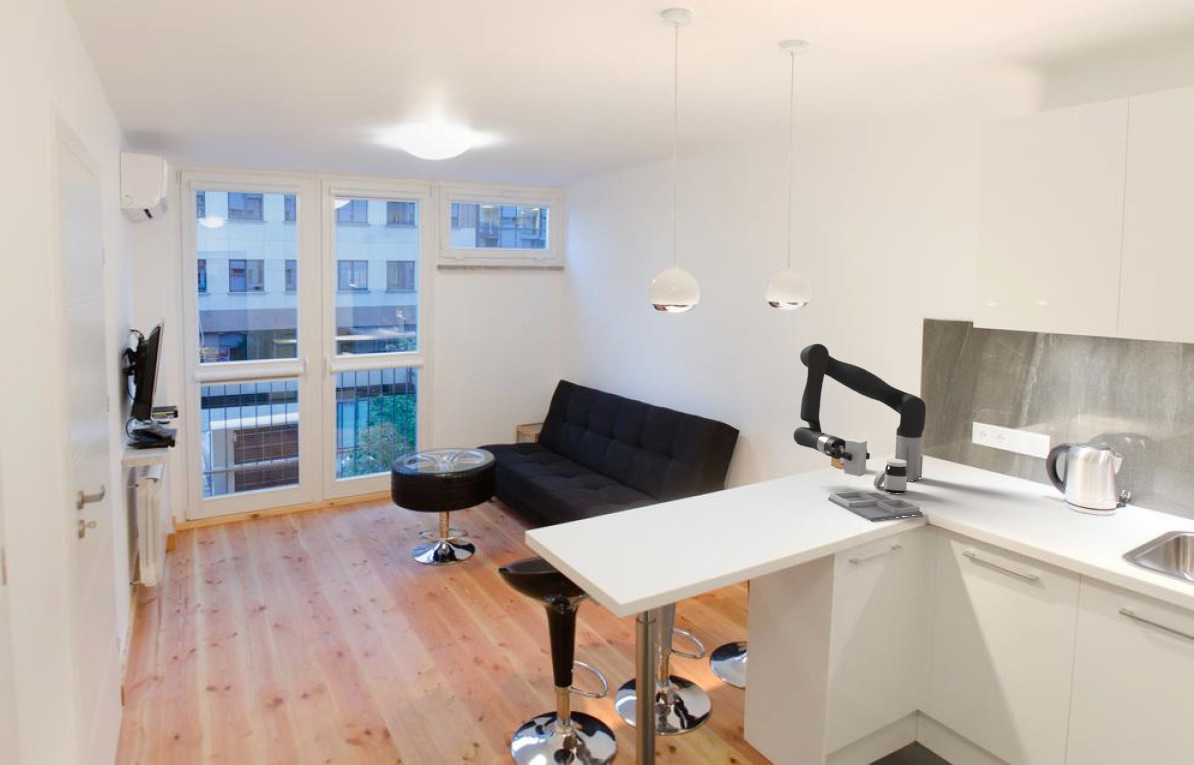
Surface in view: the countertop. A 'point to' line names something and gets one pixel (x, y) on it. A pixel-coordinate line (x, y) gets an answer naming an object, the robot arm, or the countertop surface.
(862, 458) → the skincare box
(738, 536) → the countertop surface
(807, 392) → the robot arm
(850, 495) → the compartment tray
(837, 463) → the small box
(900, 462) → the spread jar
